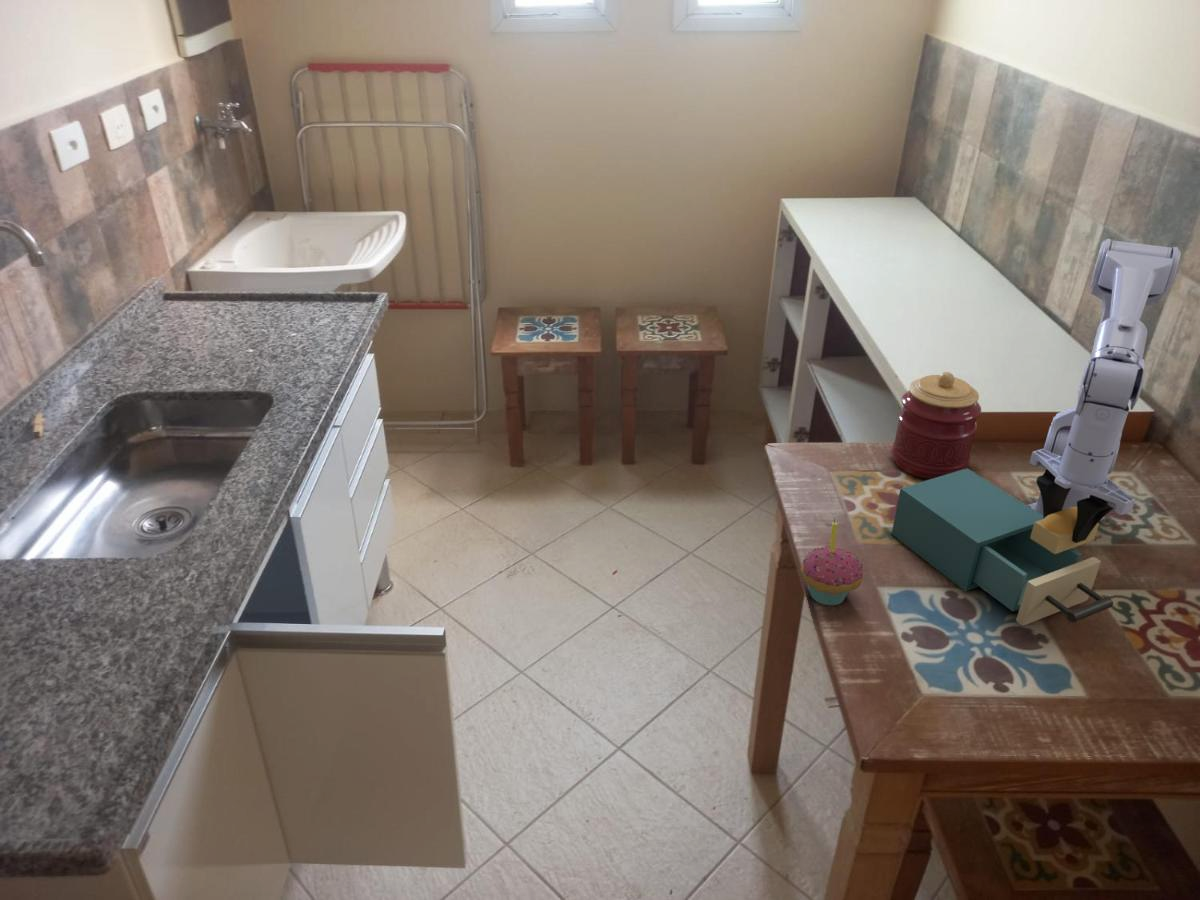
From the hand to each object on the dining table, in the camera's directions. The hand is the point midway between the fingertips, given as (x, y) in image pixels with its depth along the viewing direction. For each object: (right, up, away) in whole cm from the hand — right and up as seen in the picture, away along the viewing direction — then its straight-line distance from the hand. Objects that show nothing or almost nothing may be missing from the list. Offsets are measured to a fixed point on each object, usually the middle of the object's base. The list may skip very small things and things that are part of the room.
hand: (1064, 530), depth 122 cm
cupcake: (-32, -10, +4) cm, 33 cm away
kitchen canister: (-6, +9, +35) cm, 36 cm away
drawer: (-4, -9, +2) cm, 10 cm away
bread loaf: (0, -1, +1) cm, 1 cm away
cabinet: (-9, -4, +12) cm, 16 cm away
